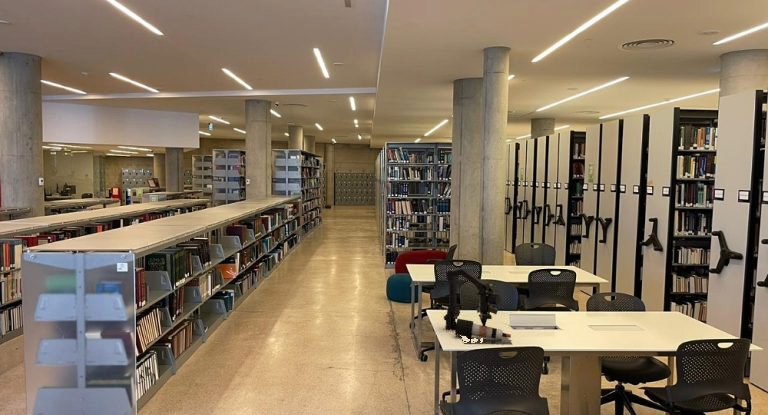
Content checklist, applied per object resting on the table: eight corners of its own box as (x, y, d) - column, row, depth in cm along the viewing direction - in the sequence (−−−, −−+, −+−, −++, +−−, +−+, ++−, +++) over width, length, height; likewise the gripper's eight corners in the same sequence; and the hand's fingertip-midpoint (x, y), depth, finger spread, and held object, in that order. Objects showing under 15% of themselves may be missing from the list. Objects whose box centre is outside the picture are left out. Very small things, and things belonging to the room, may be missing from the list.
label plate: (463, 343, 328) (463, 343, 327) (458, 332, 353) (458, 331, 353) (512, 344, 327) (512, 344, 327) (503, 332, 353) (503, 332, 353)
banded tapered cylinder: (509, 347, 335) (511, 336, 329) (454, 337, 342) (455, 326, 337) (510, 336, 343) (512, 324, 338) (457, 326, 351) (458, 315, 345)
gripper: (500, 305, 334) (499, 330, 335) (493, 299, 352) (493, 322, 353) (482, 306, 334) (481, 330, 335) (476, 299, 352) (476, 322, 353)
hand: (484, 326), depth 344 cm, fingers closed
